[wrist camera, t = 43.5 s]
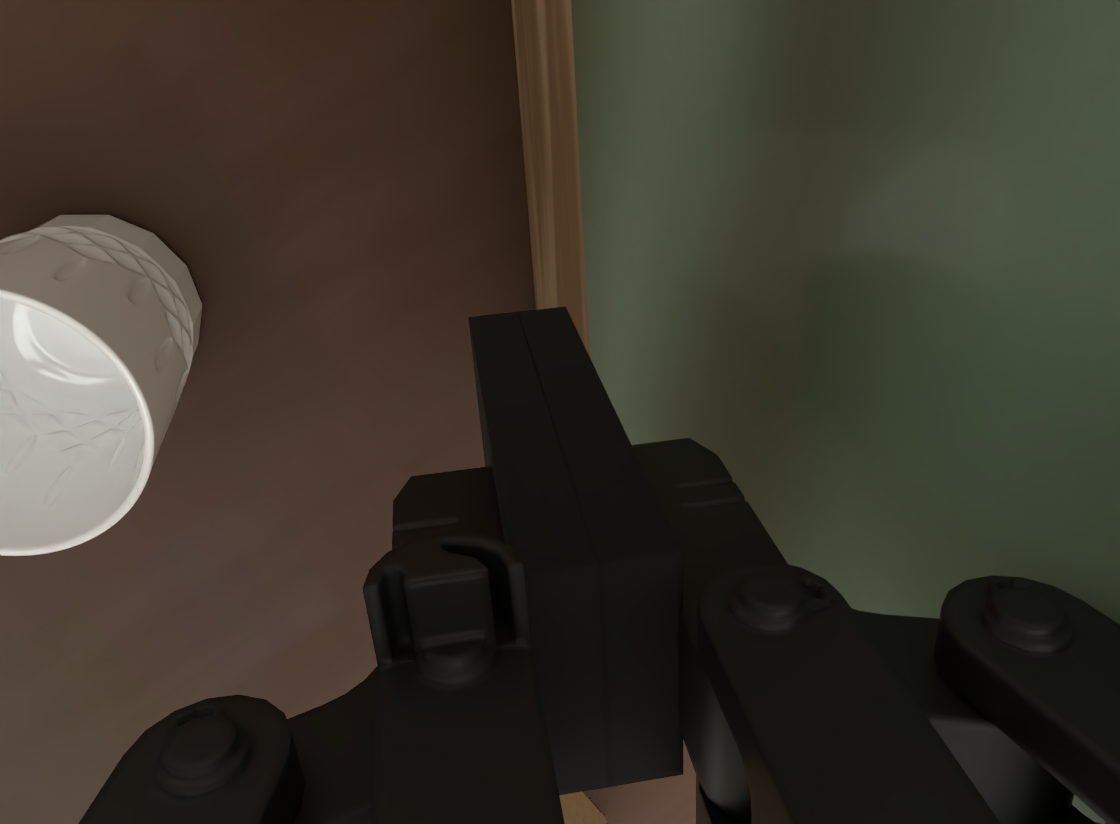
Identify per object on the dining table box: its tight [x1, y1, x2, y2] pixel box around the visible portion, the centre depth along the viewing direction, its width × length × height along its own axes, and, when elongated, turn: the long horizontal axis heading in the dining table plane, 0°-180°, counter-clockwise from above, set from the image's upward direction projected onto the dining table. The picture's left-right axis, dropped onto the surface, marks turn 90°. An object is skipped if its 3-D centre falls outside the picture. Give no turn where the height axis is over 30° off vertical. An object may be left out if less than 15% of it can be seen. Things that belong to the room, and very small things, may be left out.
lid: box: [571, 0, 1120, 824], centre depth 13 cm, size 16×17×1 cm
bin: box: [511, 0, 590, 357], centre depth 27 cm, size 15×17×14 cm
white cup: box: [0, 215, 202, 556], centre depth 28 cm, size 8×8×10 cm
